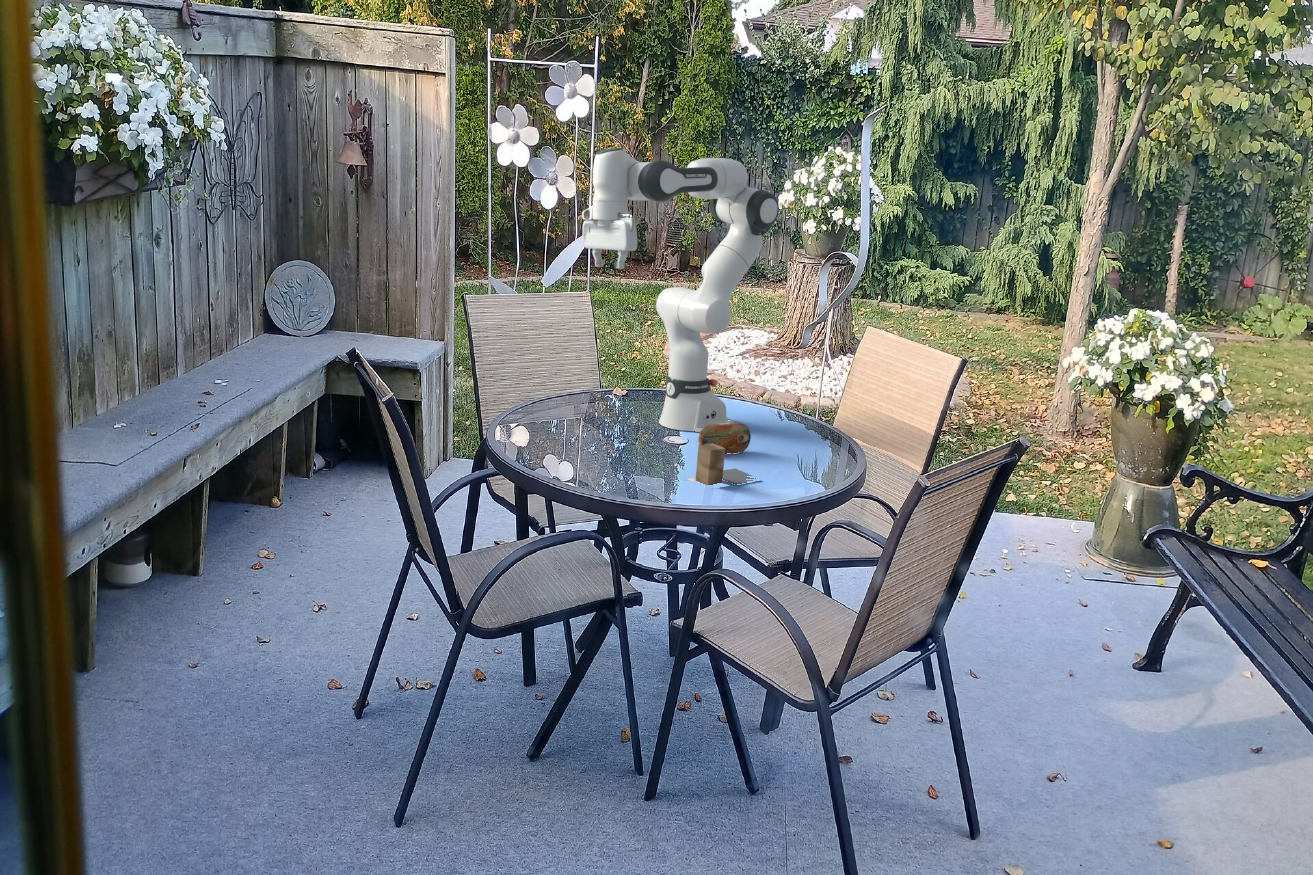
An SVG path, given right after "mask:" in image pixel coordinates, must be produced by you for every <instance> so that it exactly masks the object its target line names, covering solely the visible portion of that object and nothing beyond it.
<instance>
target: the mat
mask: <svg viewBox="0 0 1313 875" xmlns="http://www.w3.org/2000/svg"><path fill="white" fill-rule="evenodd" d="M747 476H753V475H751V474H750V475H749V473H747V472H745V471H742V470H740V469H738V468H730V469H729V468H728V469H725V470H724V469H723V478H722V479H723V480H725V481H728V482H730V483H733V484H735V485H737V484H742V483H747V481H753V480H746V479H754V478H750V477H747ZM755 479H756V478H755ZM723 480H722V481H723ZM725 481H724V482H725ZM728 482H727V483H728ZM730 483H729V484H730Z"/></svg>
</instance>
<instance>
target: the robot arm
mask: <svg viewBox="0 0 1313 875" xmlns="http://www.w3.org/2000/svg"><path fill="white" fill-rule="evenodd" d="M592 167H593V168H592V169H593V170H592V185H593V190H594V194H593V197H592V205H591V206H589V207H588V208H586V209H584V210H582V213H581V217H582V220H583V222H582V223H583V224H582V244H583V246H584V248H585V249H590V250H591V249H592V251H591V252H592V256H593V258H594V266H595V267H596V268H602V267H603V268H604V265H605V264H604V262H605V261H604V259H602V258H603V256H602V253H603V250H608V251H617V255H618V258H617V261H615V269H619V270H622V269H623V270H624V269H625V262H626V259H627V257H628V256H629V254H628V253H629V252H634V251H636V250H637V248H638V233H637V232H638V230H637V225H636V222H635V218H634V217H633V215H632V214H631V213H628V200H629V201H647V202H648V201H650V202H651V201H653V202H659V203H660V202H661V203H662V202H663V203H664V202H667V201H669V200H671V199H673V198H675V197H676V196H677V195H679V194H682V193H688V194H689V196H690V197H691V198H697V199H699V200H700V199H701V200H709V210H710V213H711V216H712V217H713V218H714V219H715V220H718V221H719V222H721V223H723V224H729V225H730V227H729V230H728V233H727V234H726V236H725V237H724V238H723V239H722V240H721V241H720V242H719V244H718V245H717V247H715V249H714V250H713V252H712V253H711V254H710V255H709V257H708V258H707V259H706V261H704V263H703V264H702V267H701V276H702V278H703V280H702V282H701V284H700V286H699V287H698V288H697V289H696V290H695V289H690V288H688V287H683V286H672V287H668V288H665V289H663V290H662V291H661V292H660V293H659V295H658V297H657V300H656V304H655V306H656V308H655V309H656V311H657V312H656V313H657V314H658V316H659V317H660V319H661V321H662V323H663V324H664V328H665V332H666V335H667V340H668V347H669V348H668V349H669V354H668V355H669V356H668V357H669V358H668V360H669V361H668V374H667V375H666V380H665V399H664V402H663V408H662V411H661V414H660V417H659V420H658V424H660V426H662V427H665V428H668V429H671V430H675V431H676V430H677V431H684V432H694V431H695V432H697V433H700V432H701V431H702V429H703V428H704V427H706V426H707V425H710V424H720V423H732V422H734V421H733V420H732V419H731V418H729V417H727V415H728V414H727V407H726V404H725V402H724V401H723V400H722V399H721V398H720V397H718V396H717V395H716V394H715V393H714V392H713V391H712V390H711V386H712V387H714V388H715V387H717V385H718V384H719V383H718V380H717V379H713V378H710V379H709V378H708V377H707V376H708V365H709V354H710V353H709V349H708V348H707V346H706V345H705V343H704V342H703V339H702V336H701V334H720V333H721V332H723V331H725V329H726V328H728V326H729V323H730V321H731V317H732V310H731V306H730V301H731V300H730V299H731V298H732V297H731V296H732V294H733V293H734V290H735V288H736V287H737V286H738V284H739V283H740V281H742V279H743V278H744V276H745V275H746V273H747V272H748V271H749V270H750V268H751V266H752V265H753V263H754V262H755V261H756V259H757V257H758V256H759V254H760V251H761V250H762V247H763V243H764V239H763V235H764V234H766V233H767V232H769V230H770V229H771V227H772V226H773V225H774V223H775V221H776V219H777V218H778V215H779V211H780V209H779V207H780V204H779V200H778V198H777V197H776V196H775V195H774V194H773V193H771V192H769V191H767V190H765V189H758V188H755V187H750V186H749V185H748V180H749V178H748V177H749V175H748V172H747V171H748V170H747V168H746V167H745V165H744V164H743V163H742V162H740V161H738V160H734V159H730V158H726V157H725V158H724V157H704V158H700V159H696V160H692V161H690V162H689V163H688V164H687V166H686V167H679V166H677V165H674V164H673V163H671V162H669V161H667V160H656V161H645V162H644V161H643V162H641V161H639V160H637V159H635V158H633V157H632V156H631V155H630V154H628V153H627V151H626V149H625V148H622V147H613V148H612V147H611V148H610V147H609V148H605V149H601V150H599V151H597V152H596V154H595V157H594V161H593V166H592ZM728 420H730V421H728ZM695 432H694V433H695Z"/></svg>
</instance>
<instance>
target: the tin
mask: <svg viewBox="0 0 1313 875" xmlns="http://www.w3.org/2000/svg"><path fill="white" fill-rule="evenodd" d="M751 436H752V435H751V431H750V429H749V427H748V425H747V426H746V424H743V423H740V422H735V421H733V422H732V423H720V424H710V425H707V426H706V427H704V428H703V429H702V431H701V432H699V436H698V446H699V445H706V444H716V445H718V446H721V447H723V448H725V454H727V453H738V452H742V453H743V452H745V451H746V450H747V449H748V447H749V446H750V443H751V438H752V437H751Z"/></svg>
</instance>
